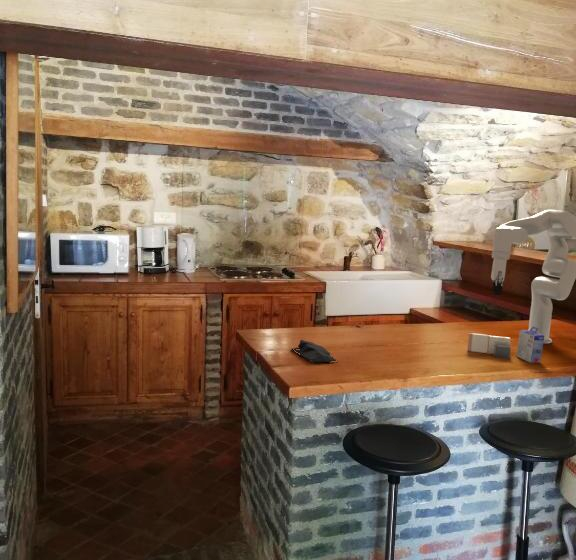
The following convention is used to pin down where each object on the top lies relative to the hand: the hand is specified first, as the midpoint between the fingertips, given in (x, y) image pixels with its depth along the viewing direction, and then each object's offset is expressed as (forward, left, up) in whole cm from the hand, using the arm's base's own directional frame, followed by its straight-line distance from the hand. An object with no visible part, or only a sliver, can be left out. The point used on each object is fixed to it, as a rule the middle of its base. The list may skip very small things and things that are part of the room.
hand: (496, 292), depth 255 cm
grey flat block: (+7, -6, -27) cm, 28 cm away
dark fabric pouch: (+41, -74, -27) cm, 89 cm away
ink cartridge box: (+10, +15, -27) cm, 32 cm away
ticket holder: (+7, +3, -27) cm, 28 cm away
